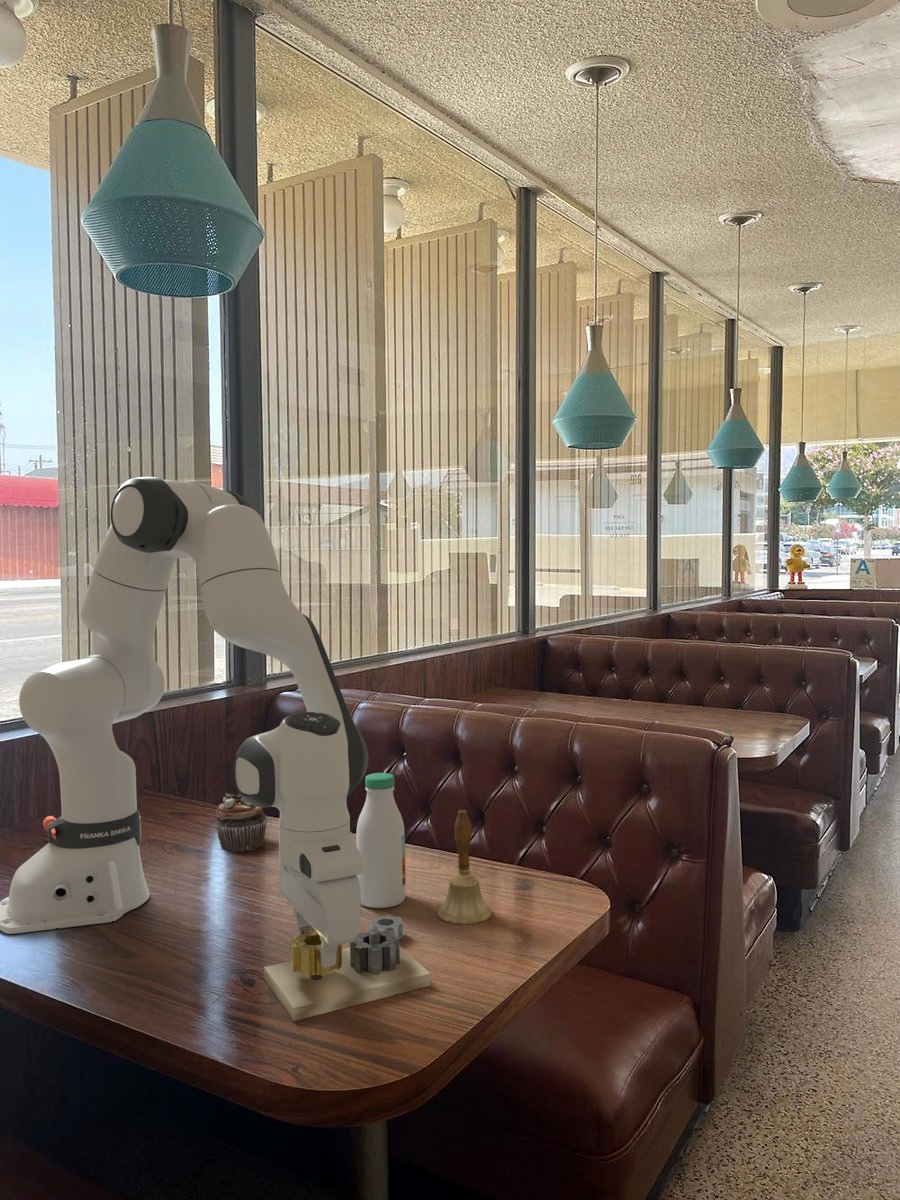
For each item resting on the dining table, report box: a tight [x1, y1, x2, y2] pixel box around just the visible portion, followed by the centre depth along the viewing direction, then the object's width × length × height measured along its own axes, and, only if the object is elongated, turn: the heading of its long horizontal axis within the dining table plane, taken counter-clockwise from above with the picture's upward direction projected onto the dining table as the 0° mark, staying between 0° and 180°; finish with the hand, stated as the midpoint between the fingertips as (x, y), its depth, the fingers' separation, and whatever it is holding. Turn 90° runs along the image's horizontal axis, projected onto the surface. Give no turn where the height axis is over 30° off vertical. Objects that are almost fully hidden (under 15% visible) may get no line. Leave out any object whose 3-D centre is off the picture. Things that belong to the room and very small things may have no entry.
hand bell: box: [436, 809, 493, 925], centre depth 137 cm, size 8×8×16 cm
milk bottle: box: [355, 772, 407, 909], centre depth 142 cm, size 8×8×20 cm
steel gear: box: [349, 929, 401, 975], centre depth 117 cm, size 6×6×3 cm
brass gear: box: [290, 930, 343, 977], centre depth 114 cm, size 6×6×3 cm
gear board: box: [263, 931, 431, 1022], centre depth 115 cm, size 18×12×6 cm, turn 118°
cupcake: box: [214, 792, 268, 852], centre depth 170 cm, size 10×10×10 cm
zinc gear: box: [367, 914, 405, 940], centre depth 129 cm, size 5×5×2 cm
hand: (316, 952), depth 114 cm, fingers closed on brass gear, 6 cm apart
